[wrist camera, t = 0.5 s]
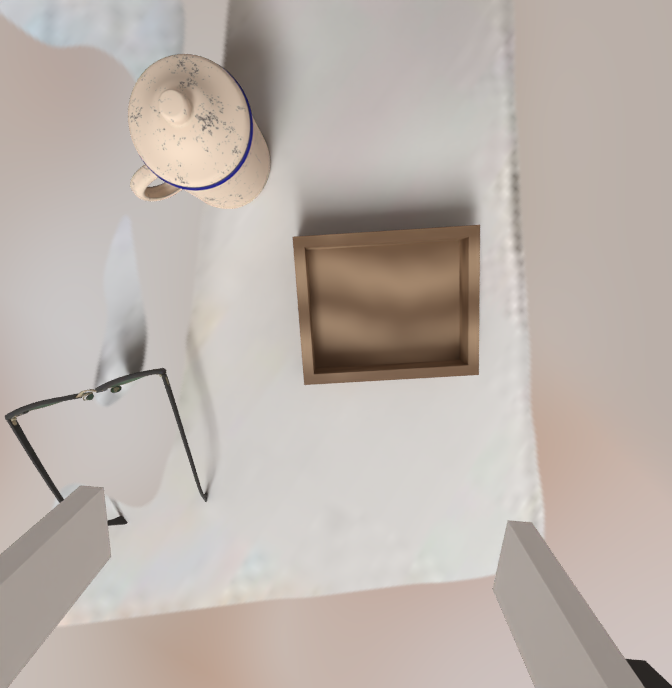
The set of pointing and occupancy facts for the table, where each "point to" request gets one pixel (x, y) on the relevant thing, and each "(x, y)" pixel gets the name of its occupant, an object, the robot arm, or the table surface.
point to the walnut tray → (389, 304)
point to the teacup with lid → (196, 134)
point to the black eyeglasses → (111, 384)
